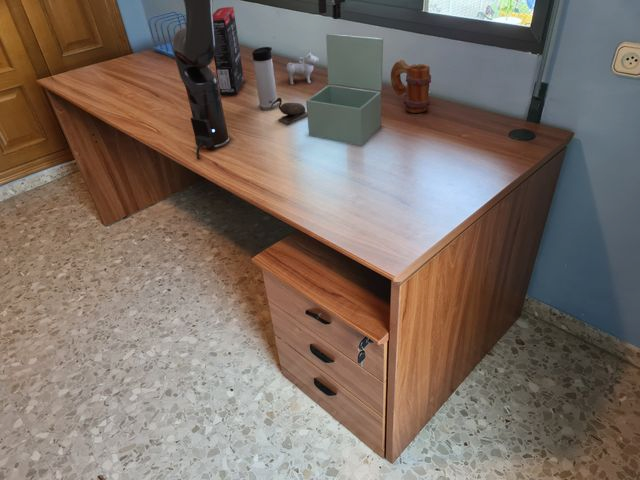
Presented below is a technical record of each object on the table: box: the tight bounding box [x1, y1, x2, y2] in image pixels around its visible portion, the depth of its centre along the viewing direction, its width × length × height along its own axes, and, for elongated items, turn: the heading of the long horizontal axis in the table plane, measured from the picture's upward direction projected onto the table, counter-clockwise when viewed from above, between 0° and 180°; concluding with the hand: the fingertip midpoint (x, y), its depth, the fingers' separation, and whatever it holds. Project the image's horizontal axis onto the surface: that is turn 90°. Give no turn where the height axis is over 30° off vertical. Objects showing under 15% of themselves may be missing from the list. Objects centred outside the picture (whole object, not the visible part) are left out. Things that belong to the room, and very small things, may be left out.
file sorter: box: [148, 11, 186, 59], centre depth 224 cm, size 25×17×15 cm
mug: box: [390, 59, 432, 114], centre depth 154 cm, size 15×8×15 cm, turn 47°
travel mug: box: [251, 46, 279, 111], centre depth 161 cm, size 6×7×20 cm
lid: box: [325, 33, 384, 92], centre depth 143 cm, size 15×18×6 cm
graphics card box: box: [213, 6, 245, 96], centre depth 176 cm, size 17×7×27 cm, turn 178°
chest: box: [305, 84, 382, 147], centre depth 145 cm, size 14×18×11 cm
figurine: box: [269, 97, 308, 126], centre depth 154 cm, size 14×4×9 cm, turn 132°
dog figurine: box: [285, 51, 320, 85], centre depth 182 cm, size 5×13×11 cm, turn 95°
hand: (329, 15), depth 138 cm, fingers open, 8 cm apart
